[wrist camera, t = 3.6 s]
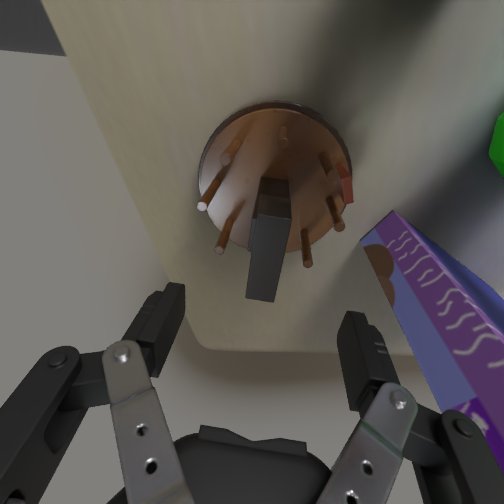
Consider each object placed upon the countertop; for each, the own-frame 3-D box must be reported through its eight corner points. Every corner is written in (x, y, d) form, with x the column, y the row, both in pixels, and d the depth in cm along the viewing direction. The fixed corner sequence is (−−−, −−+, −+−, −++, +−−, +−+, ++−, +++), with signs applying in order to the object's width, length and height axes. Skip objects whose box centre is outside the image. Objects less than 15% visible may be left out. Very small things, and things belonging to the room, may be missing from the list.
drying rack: (200, 239, 33) (156, 326, 21) (204, 96, 25) (135, 113, 13) (325, 258, 33) (348, 357, 21) (369, 120, 25) (445, 158, 13)
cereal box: (359, 240, 33) (484, 503, 12) (392, 209, 30) (610, 473, 10) (455, 309, 37) (667, 592, 17) (491, 287, 34) (787, 585, 14)
